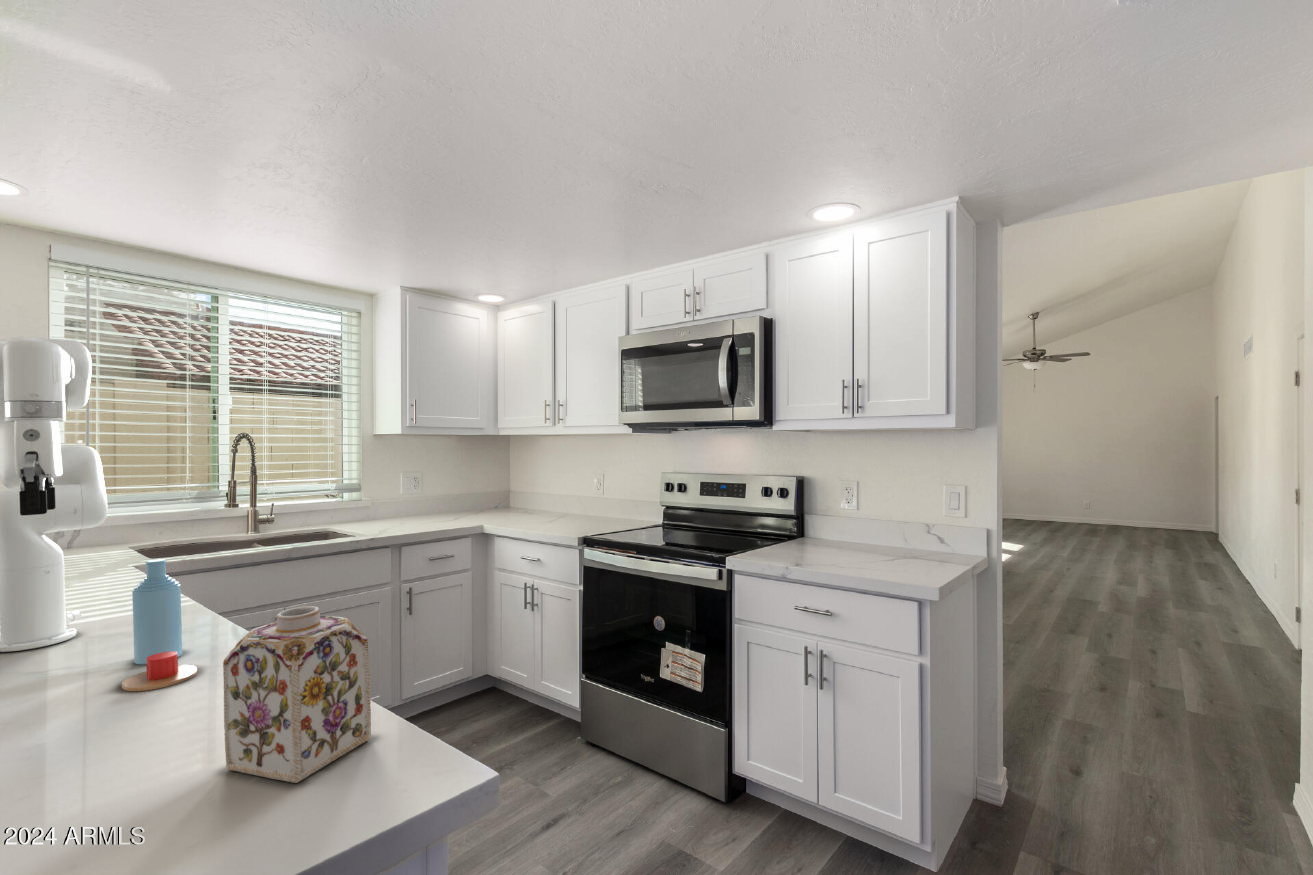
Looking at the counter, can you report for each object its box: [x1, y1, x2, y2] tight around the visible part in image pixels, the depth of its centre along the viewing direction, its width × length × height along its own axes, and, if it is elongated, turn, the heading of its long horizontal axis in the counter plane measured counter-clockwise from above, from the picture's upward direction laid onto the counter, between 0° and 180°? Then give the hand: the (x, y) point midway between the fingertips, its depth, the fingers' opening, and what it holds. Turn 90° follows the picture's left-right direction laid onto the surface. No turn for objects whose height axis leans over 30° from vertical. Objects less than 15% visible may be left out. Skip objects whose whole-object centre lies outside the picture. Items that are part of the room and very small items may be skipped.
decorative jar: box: [222, 605, 372, 784], centre depth 79 cm, size 12×12×18 cm
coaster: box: [121, 664, 198, 692], centre depth 107 cm, size 10×10×1 cm
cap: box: [146, 652, 179, 680], centre depth 107 cm, size 4×4×3 cm
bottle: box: [131, 558, 183, 666], centre depth 118 cm, size 7×7×18 cm
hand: (38, 512), depth 110 cm, fingers open, 9 cm apart
